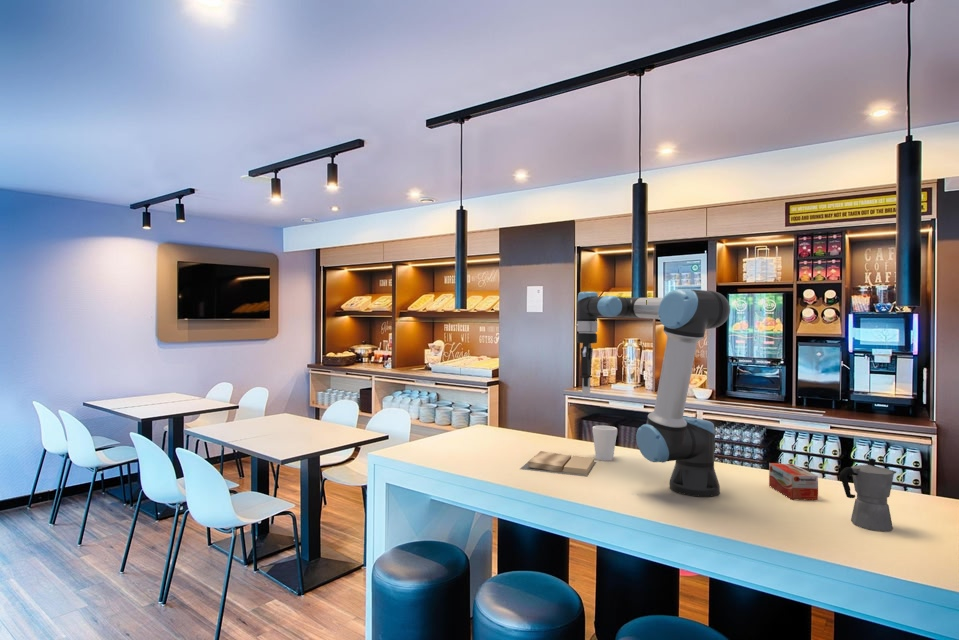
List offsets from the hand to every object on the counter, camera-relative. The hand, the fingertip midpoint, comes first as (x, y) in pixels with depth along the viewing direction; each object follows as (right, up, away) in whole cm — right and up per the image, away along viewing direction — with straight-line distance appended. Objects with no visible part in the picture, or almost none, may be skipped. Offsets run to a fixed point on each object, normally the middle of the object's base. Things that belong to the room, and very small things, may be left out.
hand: (586, 395), depth 207 cm
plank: (-14, -25, -5) cm, 29 cm away
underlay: (-11, -26, -6) cm, 29 cm away
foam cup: (+8, -27, +6) cm, 29 cm away
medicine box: (+60, -28, -32) cm, 73 cm away
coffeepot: (+64, -27, -60) cm, 92 cm away
